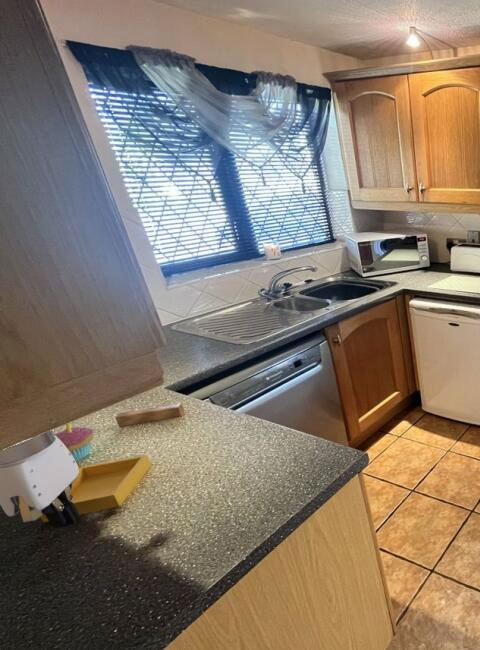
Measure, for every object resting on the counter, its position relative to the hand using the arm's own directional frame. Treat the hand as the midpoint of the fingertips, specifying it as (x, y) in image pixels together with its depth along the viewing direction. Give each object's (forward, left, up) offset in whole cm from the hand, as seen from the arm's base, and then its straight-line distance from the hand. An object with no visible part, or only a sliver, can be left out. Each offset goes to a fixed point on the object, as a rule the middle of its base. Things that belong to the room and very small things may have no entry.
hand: (67, 522), depth 73 cm
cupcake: (-13, +24, -2) cm, 28 cm away
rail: (-3, +36, -2) cm, 36 cm away
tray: (0, +9, -2) cm, 9 cm away
